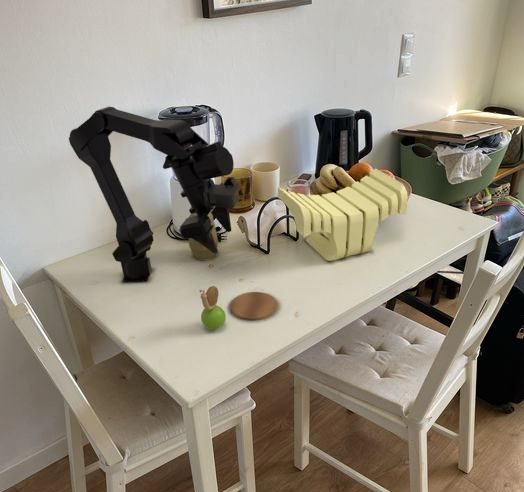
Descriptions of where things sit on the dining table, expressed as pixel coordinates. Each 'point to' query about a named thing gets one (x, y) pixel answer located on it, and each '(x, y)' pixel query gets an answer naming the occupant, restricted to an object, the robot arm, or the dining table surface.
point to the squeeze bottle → (199, 249)
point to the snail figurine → (212, 309)
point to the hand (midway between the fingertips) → (223, 241)
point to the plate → (253, 306)
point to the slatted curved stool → (346, 214)
